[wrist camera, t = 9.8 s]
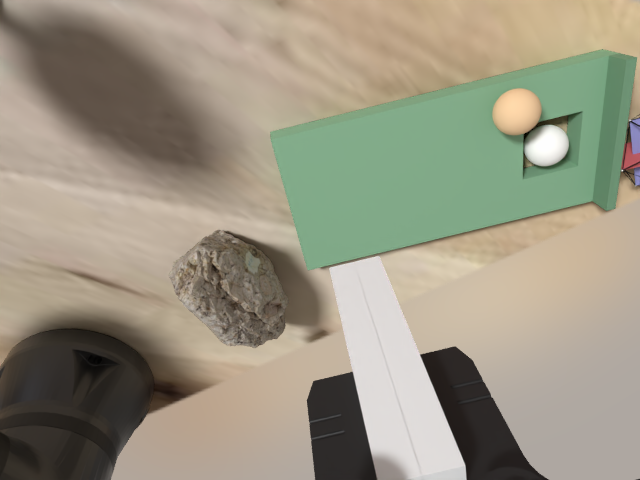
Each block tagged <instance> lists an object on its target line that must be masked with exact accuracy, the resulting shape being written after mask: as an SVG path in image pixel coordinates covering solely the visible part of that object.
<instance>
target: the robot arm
mask: <svg viewBox="0 0 640 480" xmlns="http://www.w3.org/2000/svg"><path fill="white" fill-rule="evenodd" d="M329 269H330V273H331V278H332V282H333V287H334V291H335V295H336V300H337V304H338V309H339V313H340V317H341V322H342V326H343V331H344V335H345V339H346V344H347V348H348V353H349V357H350V361H351V366H352V370H353V372H350V373H346V374H342V375H338V376H333V377H329V378H325V379H321V380H316V381H313V384H312V387H311V390H310V393H309V396H308V399H307V405H308V415H309V422H310V434H311V440H312V441H311V443H312V453H313V462H314V472H315V480H548V479H547V478H545V477H544V476H542V475H541V474H539V473H538V472H537V471H536V470H535V469H534V468H533V467H532V466H531V465H530V464H529V462H528V461H527V460H526V458H525V457H524V455H523V453H522V451H521V450H520V448H519V446H518V444H517V442H516V440H515V439H514V437H513V435H512V433H511V431H510V429H509V427H508V426H507V424H506V422H505V420H504V418H503V416H502V414H501V412H500V411H499V409H498V407H497V406H496V403H495V401H494V400H493V398H492V397H491V394H490V392H489V390H488V388H487V387H486V385H485V383H484V382H483V380H482V377H481V375H480V374H479V372H478V370H477V368H476V366H475V364H474V362H473V361H472V360H471V359H470V358H469V357H468V356H466V355H465V354H464V353H463V352H462V351H460V350H459V349H458V348H457V347H450V348H447V349H442V350H438V351H434V352H429V353H426V354H421V355H420V354H419V351H418V349H417V347H416V344H415V342H414V339H413V337H412V334H411V332H410V330H409V327H408V325H407V322H406V320H405V317H404V315H403V313H402V310H401V308H400V305H399V303H398V300H397V298H396V295H395V293H394V291H393V288H392V286H391V283H390V281H389V278H388V276H387V274H386V271H385V269H384V266H383V264H382V261H381V259H380V256H376V257H372V258H368V259H364V260H360V261H356V262H351V263H347V264H343V265H339V266H335V267H331V268H329ZM153 392H154V379H153V375H152V372H151V370H150V368H149V366H148V365H147V363H146V362H145V361H144V359H143V358H142V357H141V356H140V355H139V354H138V353H137V352H135V351H134V350H133V349H132V348H130V347H129V346H127V345H126V344H124V343H122V342H120V341H118V340H116V339H114V338H111V337H109V336H106V335H103V334H100V333H96V332H91V331H86V330H76V329H61V330H52V331H47V332H42V333H39V334H36V335H33V336H31V337H29V338H27V339H25V340H23V341H22V342H20V343H19V344H17V345H16V346H15V347H14V348H13V349H12V350H11V351H10V353H9V354H8V355H7V357H6V359H5V360H4V362H3V363H2V365H1V366H0V480H111V476H112V473H113V470H114V467H115V463H116V460H117V457H118V455H119V454H120V452H121V451H122V449H123V447H124V446H125V445H126V443H127V441H128V440H129V438H130V437H131V435H132V433H133V432H134V430H135V429H136V428H137V427H138V426H139V425H140V424H141V423H142V421H143V420H144V418H145V417H146V415H147V412H148V410H149V407H150V403H151V399H152V396H153ZM637 480H640V479H637Z"/></svg>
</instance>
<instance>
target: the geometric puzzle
mask: <svg viewBox="0 0 640 480" xmlns="http://www.w3.org/2000/svg"><path fill="white" fill-rule="evenodd" d="M639 115H640V114H639ZM636 117H637V116H636ZM628 123H629V127H628V134H629V128H630V129H631V141H632V142H629V143H627V141H626V144H625V145H624V151H623V158H622V165H621V169H622V170H621V171H624V170H625V171H624V172H627V171H626V170H627V169H632V168H634V174H633V175H635V183H634V182H633V183H634V185H635V186H637V185H640V117H639V118H637V119H634V118H633V120H632V119H631V120H629V122H628ZM628 134H627V140H628ZM628 173H629V172H627V174H628ZM630 174H632V173H630ZM628 175H629V174H628ZM626 176H627V175H626ZM627 177H628V176H627ZM629 177H630V176H629ZM629 177H628V178H629ZM630 178H631V177H630ZM630 178H629V179H630ZM630 180H632V179H630ZM632 181H633V180H632Z"/></svg>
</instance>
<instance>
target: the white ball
mask: <svg viewBox="0 0 640 480" xmlns="http://www.w3.org/2000/svg"><path fill="white" fill-rule="evenodd" d="M568 148H569V140H568V136H567V134H566V133H565V132H564V131H563V130H562V129H561V128H559V127H557V126H554V125H542V126H539V127H537V128H535V129H533V130H532V131H531V132H530V133H529V134H528V135H527V137H526V139H525V141H524V153H525V156H526V157H527V159H528V160H529V161H530V162H532V163H533V164H535V165H538V166H550V165H554V164H556V163H558V162H559V161H560V160H562V159H563V157H564V156H565V155H566V153H567V151H568Z"/></svg>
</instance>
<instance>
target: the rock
mask: <svg viewBox="0 0 640 480" xmlns="http://www.w3.org/2000/svg"><path fill="white" fill-rule="evenodd" d="M169 276H170V279H171V281H172V283H173V285H174V289H175V293H176V295H178V299H179V300H180V301H181V302H182V303H183V305H184V306H185V307H186V308H187V309H188V310H189V311H191V312H192V313H193V314H194V315H195V316H196V317H197V318H198V319H200V320H201V321H202V322H203V323H204V324H205V325H206V326H207V327H208V328H209V329H210V330H211V331H212V332H213V333H214V334H215V335H216V336H217V338H218V339H219V340H220V341H221V342H223V343H224V344H226V345H229V346H236V345H244V346H250V347H253V348H256V347H258V346H259V345H262V344H264V343H265V342H266V341H267V340H272V339H277V338H278V337H279V336H280V335H281V334H282V333H283V331H284V329H285V319H284V311H285V308H286V307H287V305H288V303H289V300H288V297H287V296H286V294H285V293H284V292H283V290H282V285H281V283H280V282H279V279H278V277H277V275H276V274H275V271H274V266H273V264H272V262H271V261H270V260H269V259H268V257H267V256H266V255H264V253H263V252H262V251H260V250H258V249H256V247H255V246H254V245H251V244H247V243H244V241H242V240H239V239H237V238H234V236H232V235H230V234H227V233H225V232H224V231H219V230H217V231H215V232H214V233H213V234H212V235H209V236H208V237H205V238H203V239H202V240H201V241H200V242H199V243H198V244H197V245H195V246H194V247H193V248H192V249H191V250H190V251H188V252H187V253H186V254H185V255H184V256H182V257H181V258H180V259H179V260H176V261H175V262H174V264H173V269H172V271H171V272H170V274H169Z"/></svg>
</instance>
